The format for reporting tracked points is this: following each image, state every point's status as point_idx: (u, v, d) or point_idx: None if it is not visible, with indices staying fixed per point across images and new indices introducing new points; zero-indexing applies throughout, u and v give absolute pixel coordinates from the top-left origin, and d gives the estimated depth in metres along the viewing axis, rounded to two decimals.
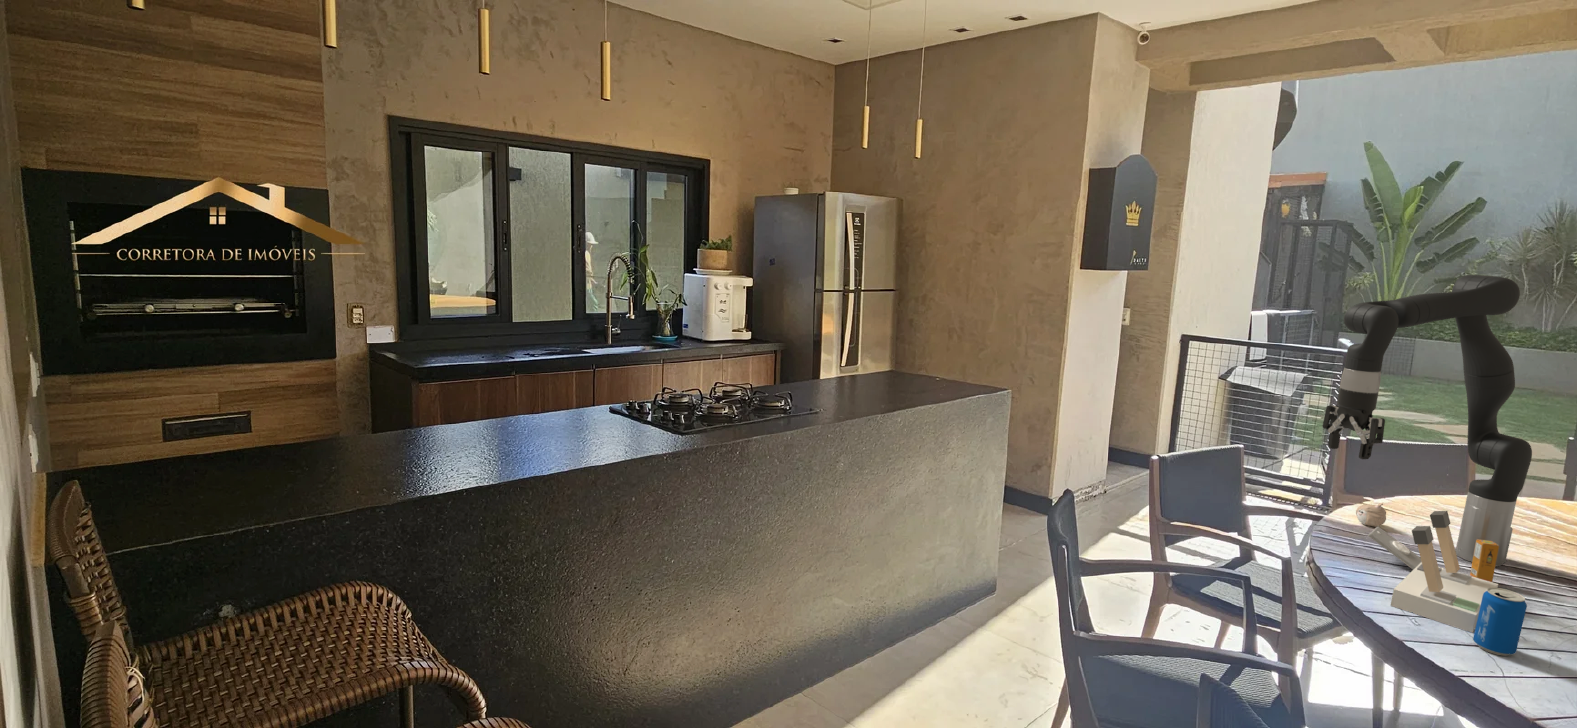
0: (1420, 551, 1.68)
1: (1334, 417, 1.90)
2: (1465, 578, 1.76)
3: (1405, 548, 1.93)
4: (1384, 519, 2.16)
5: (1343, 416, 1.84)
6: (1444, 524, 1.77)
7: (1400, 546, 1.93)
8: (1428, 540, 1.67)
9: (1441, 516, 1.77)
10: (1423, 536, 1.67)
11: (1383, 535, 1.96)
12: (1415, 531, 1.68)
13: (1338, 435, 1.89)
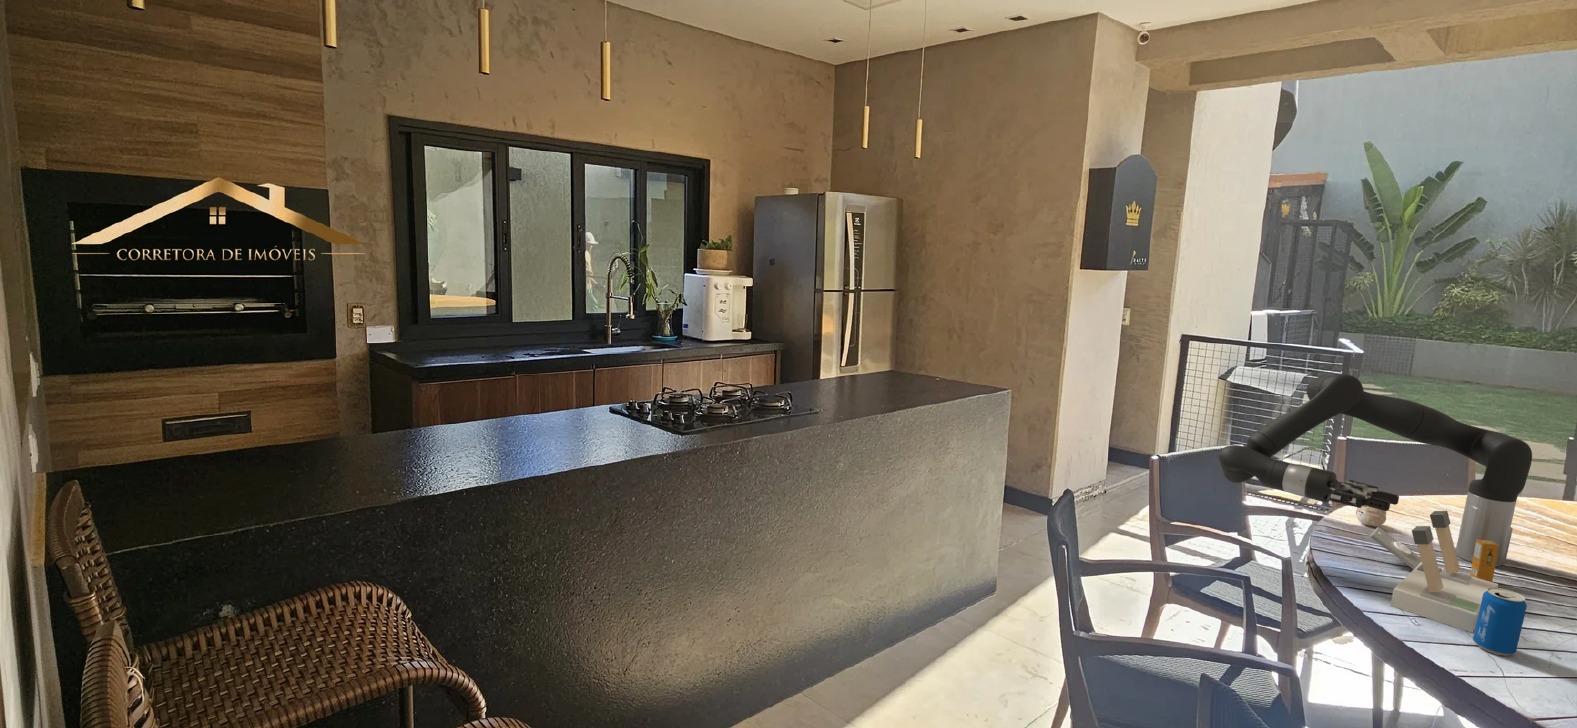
0: (1420, 551, 1.68)
1: None
2: (1465, 578, 1.76)
3: (1406, 549, 1.93)
4: (1384, 519, 2.16)
5: None
6: (1444, 524, 1.77)
7: (1401, 547, 1.92)
8: (1428, 540, 1.67)
9: (1441, 516, 1.77)
10: (1423, 536, 1.67)
11: (1384, 535, 1.96)
12: (1415, 531, 1.68)
13: (1380, 494, 1.77)
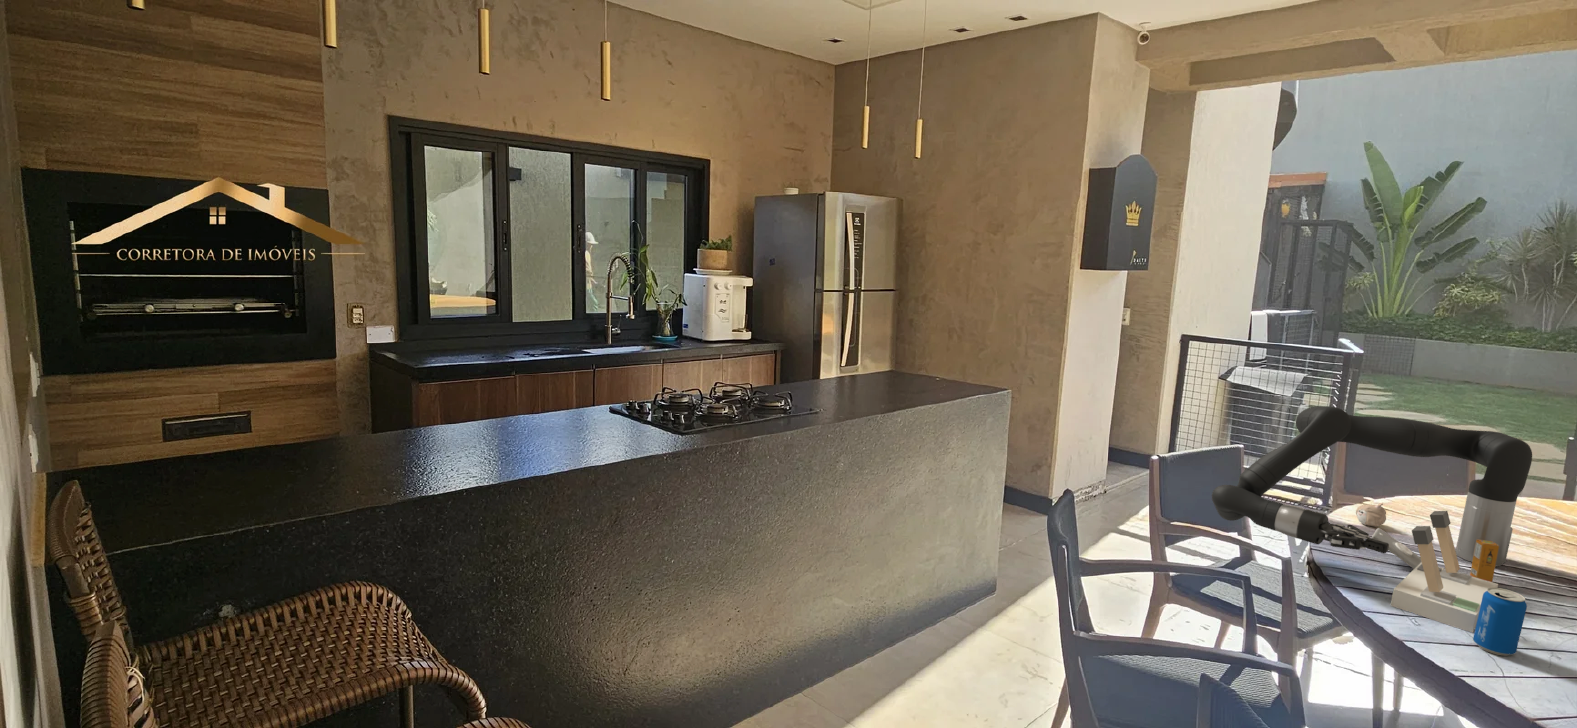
0: (1420, 551, 1.68)
1: None
2: (1465, 578, 1.76)
3: (1408, 549, 1.92)
4: (1384, 519, 2.16)
5: None
6: (1444, 524, 1.77)
7: (1403, 548, 1.92)
8: (1428, 540, 1.67)
9: (1441, 516, 1.77)
10: (1423, 536, 1.67)
11: (1385, 536, 1.95)
12: (1415, 531, 1.68)
13: None
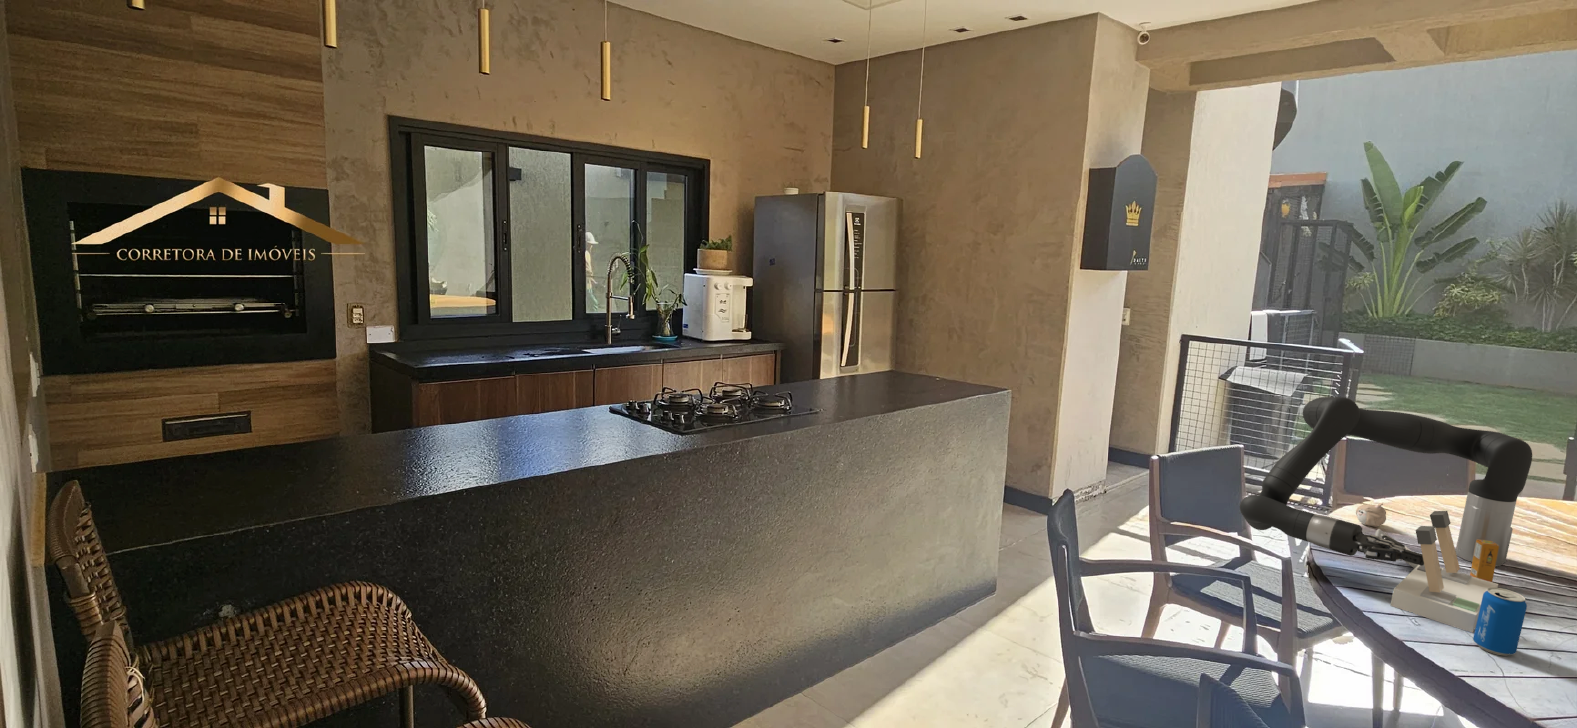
0: (1423, 551, 1.68)
1: None
2: (1465, 578, 1.76)
3: None
4: (1384, 519, 2.16)
5: None
6: (1444, 524, 1.77)
7: None
8: (1432, 540, 1.66)
9: (1441, 516, 1.77)
10: (1426, 536, 1.67)
11: None
12: (1419, 531, 1.68)
13: None
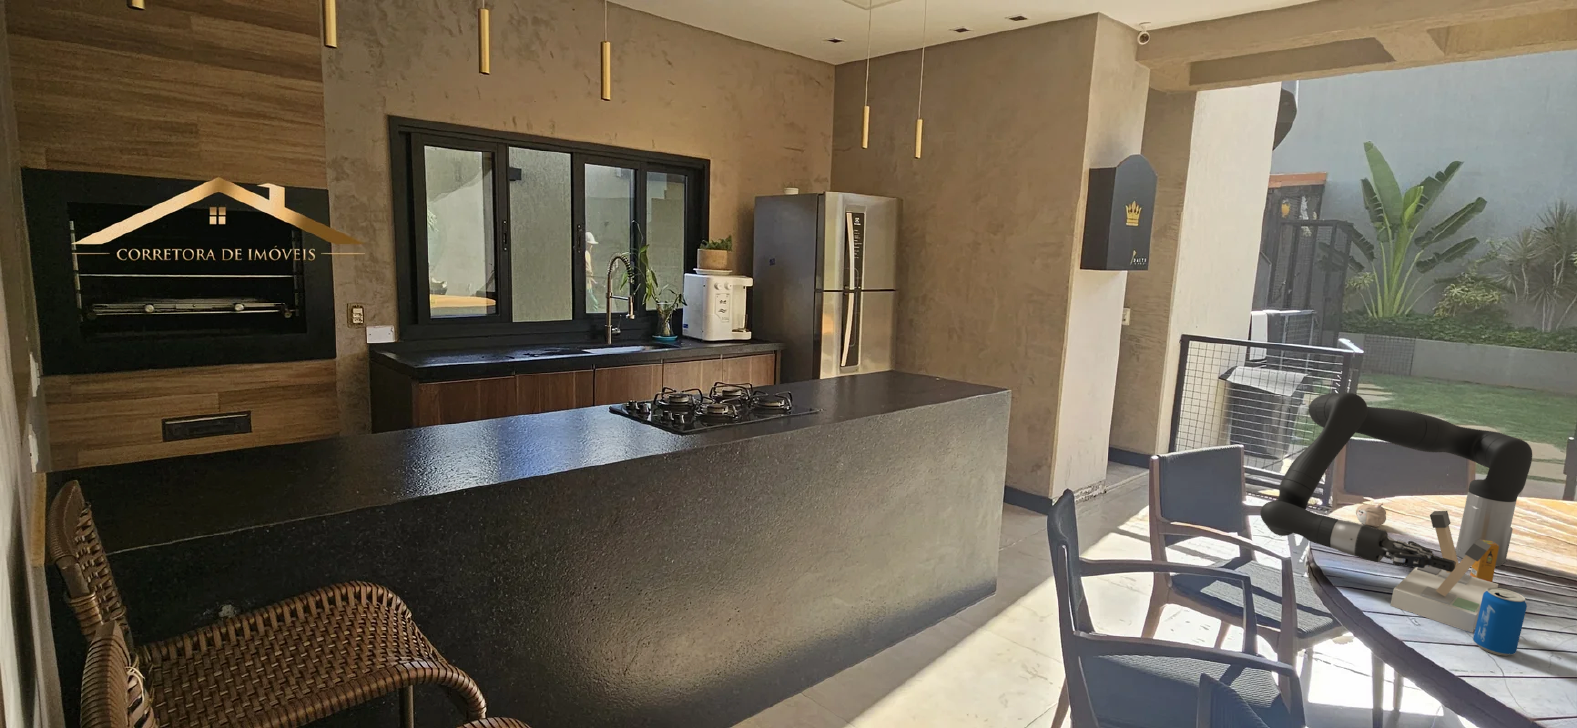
0: (1462, 561, 1.63)
1: None
2: (1465, 578, 1.76)
3: None
4: (1384, 519, 2.16)
5: None
6: (1444, 524, 1.77)
7: None
8: None
9: (1441, 516, 1.77)
10: (1479, 553, 1.60)
11: None
12: (1476, 546, 1.60)
13: None
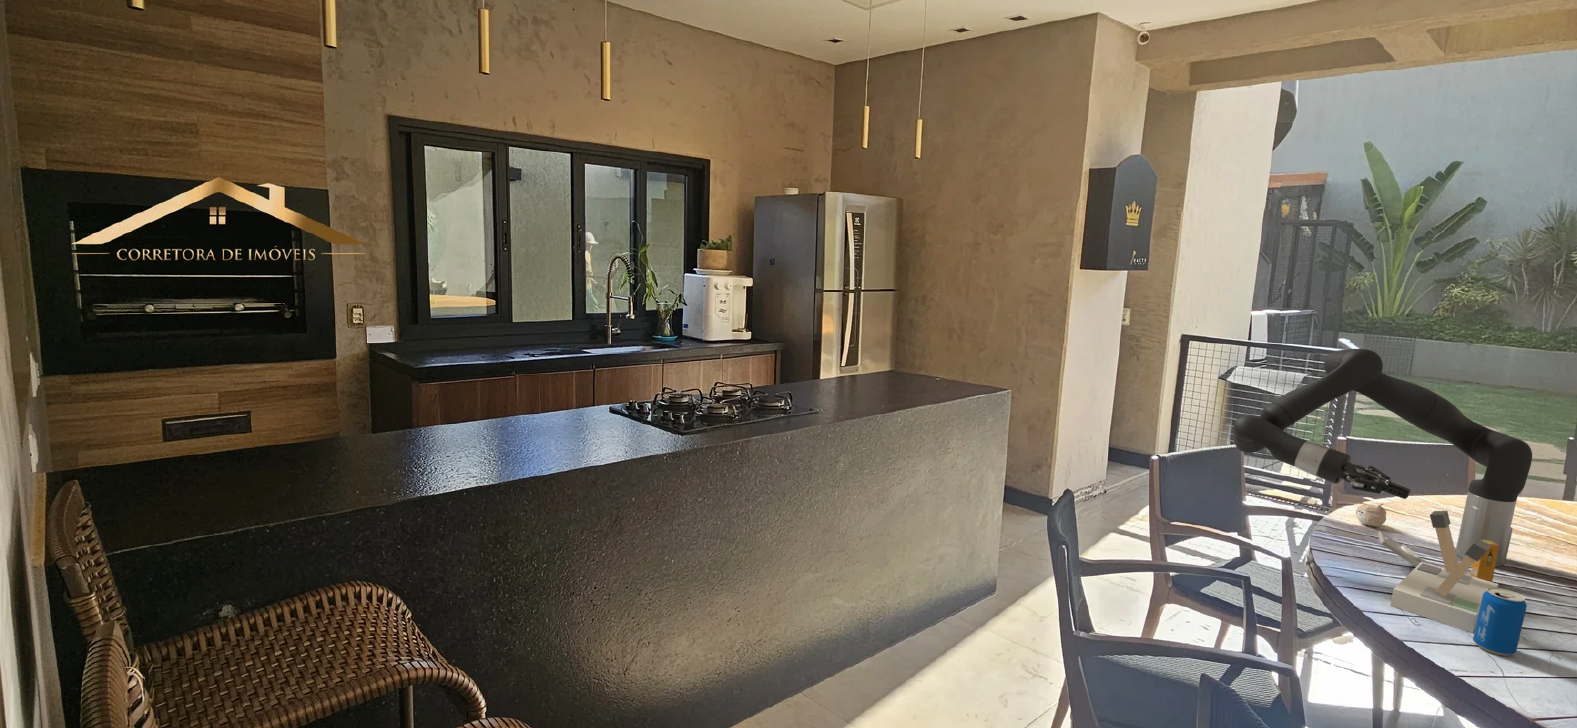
0: (1462, 561, 1.63)
1: None
2: (1465, 578, 1.76)
3: (1413, 552, 1.90)
4: (1384, 519, 2.16)
5: None
6: (1444, 524, 1.77)
7: (1410, 551, 1.90)
8: None
9: (1441, 516, 1.77)
10: (1479, 553, 1.60)
11: (1390, 540, 1.93)
12: (1476, 546, 1.60)
13: None
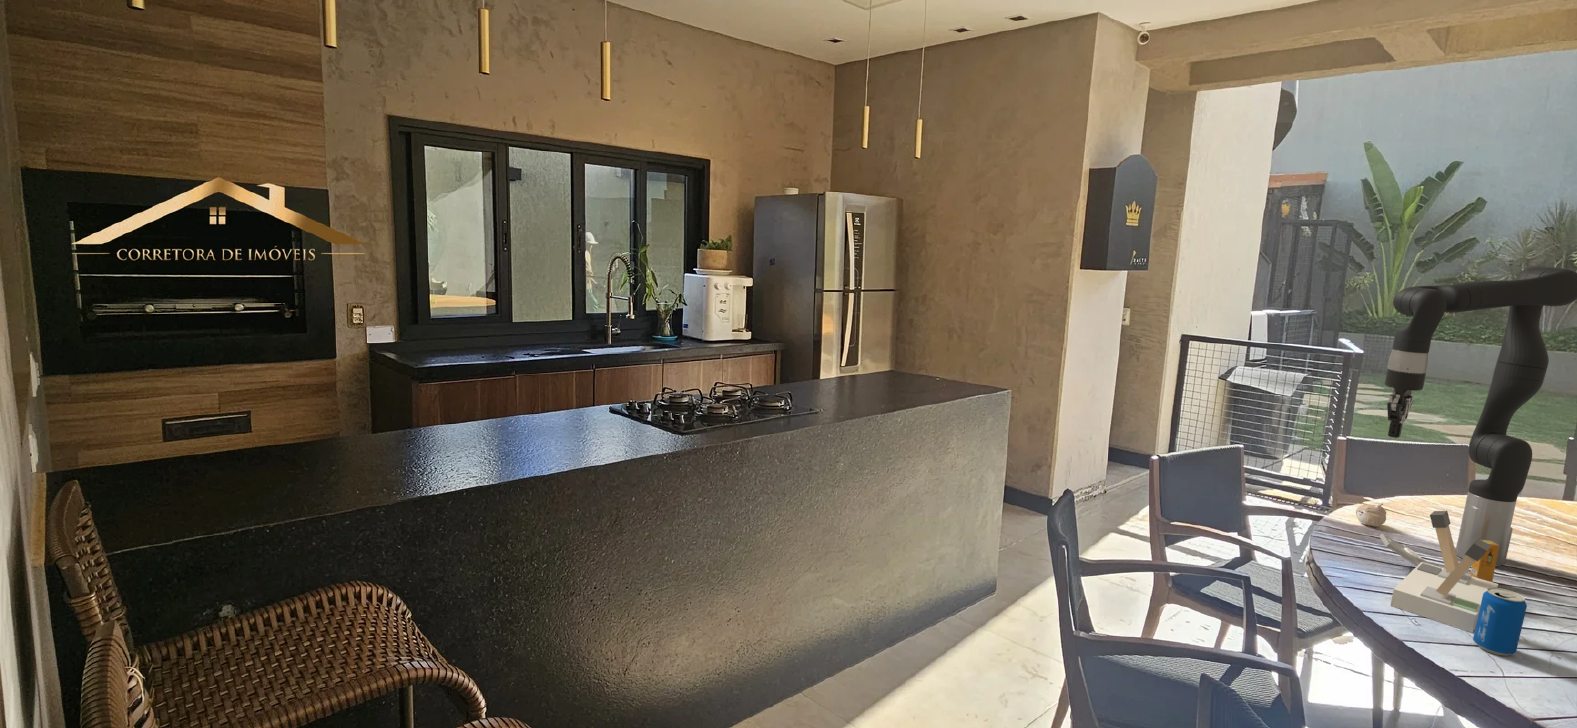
0: (1462, 561, 1.63)
1: None
2: (1465, 578, 1.76)
3: (1416, 554, 1.90)
4: (1384, 519, 2.16)
5: None
6: (1444, 524, 1.77)
7: (1413, 553, 1.89)
8: None
9: (1441, 516, 1.77)
10: (1479, 553, 1.60)
11: (1393, 542, 1.91)
12: (1476, 546, 1.60)
13: None
